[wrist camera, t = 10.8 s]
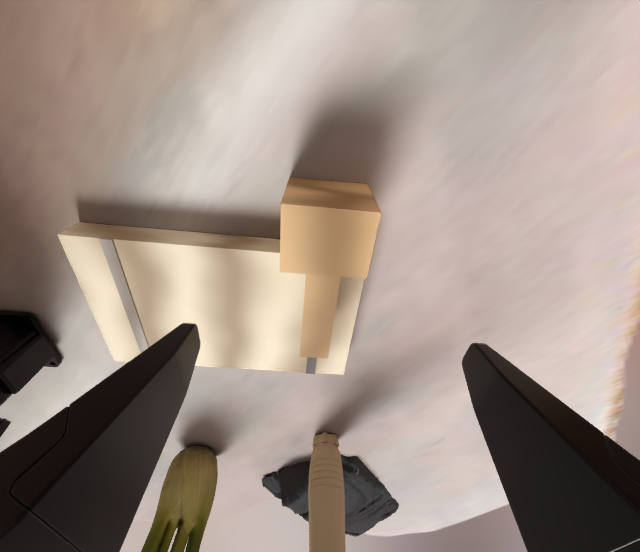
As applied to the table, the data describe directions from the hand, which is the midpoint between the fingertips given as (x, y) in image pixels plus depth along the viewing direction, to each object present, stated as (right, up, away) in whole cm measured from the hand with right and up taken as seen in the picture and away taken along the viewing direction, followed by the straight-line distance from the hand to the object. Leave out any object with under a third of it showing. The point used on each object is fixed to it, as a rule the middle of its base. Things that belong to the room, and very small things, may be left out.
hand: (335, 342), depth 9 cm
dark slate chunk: (+2, -31, +36) cm, 48 cm away
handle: (0, -18, +26) cm, 32 cm away
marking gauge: (0, +4, +12) cm, 12 cm away
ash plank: (-8, 0, +14) cm, 16 cm away
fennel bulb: (-16, -21, +28) cm, 39 cm away
